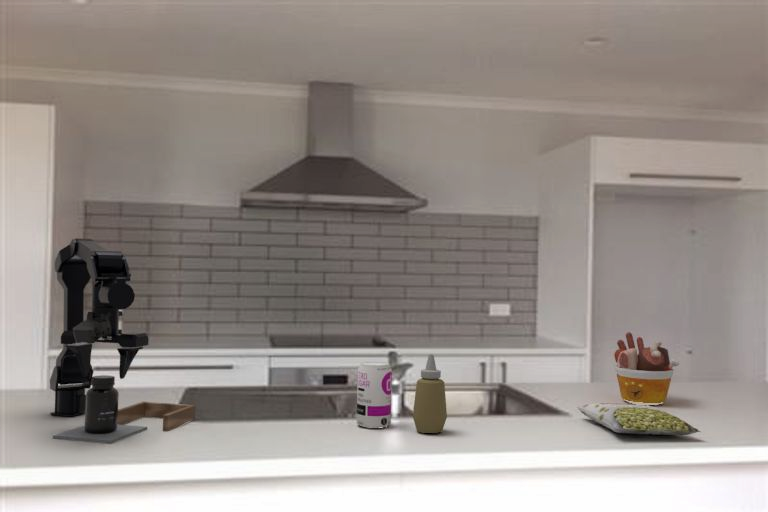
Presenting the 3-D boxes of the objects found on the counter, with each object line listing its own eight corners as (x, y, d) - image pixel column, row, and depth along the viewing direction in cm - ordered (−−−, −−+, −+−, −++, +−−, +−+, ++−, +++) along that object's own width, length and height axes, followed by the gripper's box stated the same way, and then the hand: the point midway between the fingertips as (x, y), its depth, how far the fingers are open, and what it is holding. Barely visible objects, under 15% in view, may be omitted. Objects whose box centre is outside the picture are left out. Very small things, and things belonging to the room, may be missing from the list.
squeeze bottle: (450, 430, 174) (452, 354, 175) (441, 437, 167) (443, 357, 167) (417, 426, 177) (419, 352, 177) (407, 433, 169) (409, 355, 170)
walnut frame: (112, 426, 170) (112, 411, 170) (143, 415, 183) (143, 401, 183) (167, 431, 167) (167, 415, 167) (195, 419, 179) (195, 405, 179)
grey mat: (52, 438, 158) (52, 435, 158) (93, 425, 171) (93, 422, 171) (110, 443, 154) (110, 440, 154) (147, 429, 168) (147, 426, 168)
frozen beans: (615, 415, 166) (575, 395, 191) (613, 441, 166) (573, 418, 191) (702, 419, 168) (651, 399, 193) (701, 444, 168) (650, 421, 193)
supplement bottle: (106, 435, 159) (107, 379, 159) (77, 433, 160) (79, 377, 160) (123, 428, 165) (125, 375, 166) (96, 426, 167) (97, 373, 167)
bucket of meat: (687, 408, 209) (688, 338, 209) (632, 409, 206) (633, 338, 207) (651, 396, 229) (652, 332, 229) (601, 396, 226) (602, 331, 227)
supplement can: (395, 424, 179) (397, 362, 179) (381, 431, 172) (383, 366, 172) (366, 420, 183) (367, 360, 183) (350, 427, 175) (352, 364, 175)
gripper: (44, 307, 158) (42, 380, 157) (121, 310, 153) (119, 385, 153) (77, 305, 169) (75, 373, 168) (150, 307, 164) (148, 377, 164)
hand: (103, 377), depth 163 cm, fingers open, 9 cm apart
